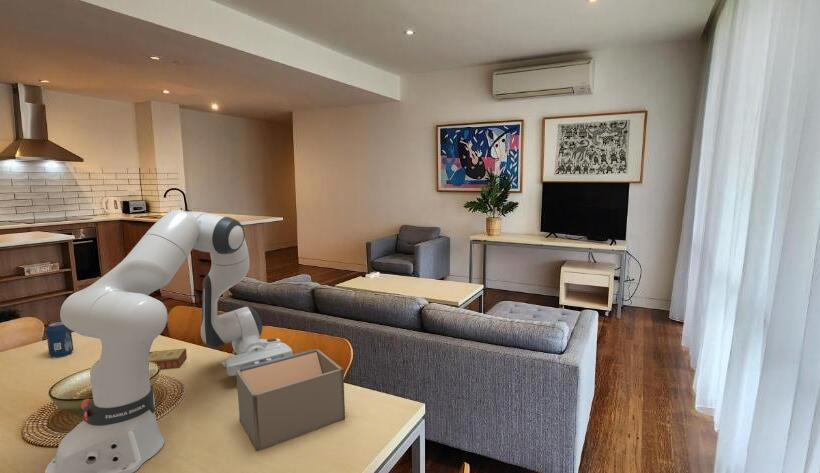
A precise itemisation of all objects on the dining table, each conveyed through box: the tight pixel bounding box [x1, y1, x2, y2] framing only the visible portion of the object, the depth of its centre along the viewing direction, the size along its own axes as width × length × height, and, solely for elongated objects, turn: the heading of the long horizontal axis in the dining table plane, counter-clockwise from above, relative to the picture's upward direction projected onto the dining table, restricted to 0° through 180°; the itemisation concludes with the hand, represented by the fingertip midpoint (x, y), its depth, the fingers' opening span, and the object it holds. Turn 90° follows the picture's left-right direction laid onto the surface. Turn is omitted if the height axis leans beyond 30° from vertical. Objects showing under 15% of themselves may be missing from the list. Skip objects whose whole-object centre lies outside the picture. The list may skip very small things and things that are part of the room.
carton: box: [149, 348, 188, 371], centre depth 146 cm, size 8×16×4 cm, turn 102°
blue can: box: [45, 320, 74, 359], centre depth 155 cm, size 7×7×12 cm
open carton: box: [235, 349, 346, 452], centre depth 112 cm, size 23×16×14 cm
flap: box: [240, 348, 322, 393], centre depth 115 cm, size 21×1×14 cm
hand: (266, 368), depth 129 cm, fingers closed
